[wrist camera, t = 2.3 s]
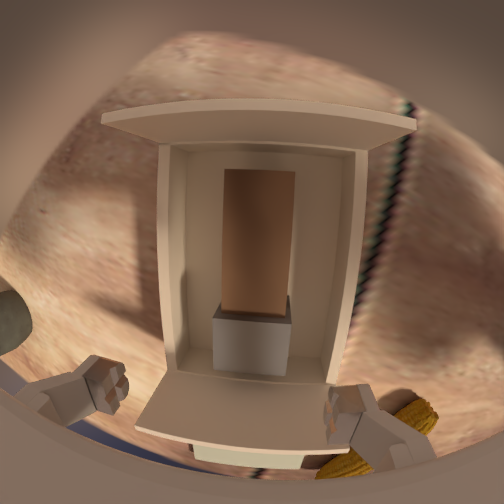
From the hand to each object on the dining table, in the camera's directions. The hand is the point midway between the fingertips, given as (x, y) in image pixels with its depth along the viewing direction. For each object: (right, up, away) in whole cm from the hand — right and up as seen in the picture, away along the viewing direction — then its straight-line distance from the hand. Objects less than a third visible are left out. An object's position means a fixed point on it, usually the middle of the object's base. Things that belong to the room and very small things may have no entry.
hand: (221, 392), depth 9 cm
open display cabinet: (+2, +4, +17) cm, 17 cm away
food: (+19, -22, +21) cm, 36 cm away
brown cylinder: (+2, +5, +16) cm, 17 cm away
